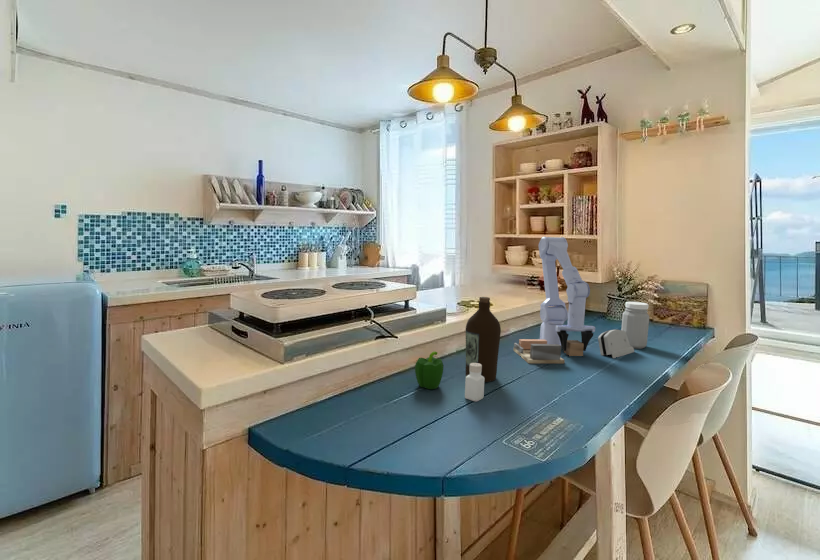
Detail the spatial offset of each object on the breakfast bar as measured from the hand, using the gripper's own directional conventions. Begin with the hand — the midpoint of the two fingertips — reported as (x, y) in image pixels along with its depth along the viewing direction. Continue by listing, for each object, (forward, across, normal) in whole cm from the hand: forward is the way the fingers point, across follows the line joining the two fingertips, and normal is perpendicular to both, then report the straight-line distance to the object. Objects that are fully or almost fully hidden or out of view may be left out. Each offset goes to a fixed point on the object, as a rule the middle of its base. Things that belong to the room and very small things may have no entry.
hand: (573, 350), depth 159 cm
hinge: (+2, +18, +3) cm, 19 cm away
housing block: (+2, 0, 0) cm, 2 cm away
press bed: (+2, -15, -3) cm, 15 cm away
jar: (+2, +32, +13) cm, 35 cm away
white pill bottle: (+2, -48, -42) cm, 64 cm away
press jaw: (0, -15, +2) cm, 15 cm away
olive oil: (+2, -42, -25) cm, 49 cm away
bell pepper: (+2, -59, -33) cm, 68 cm away
